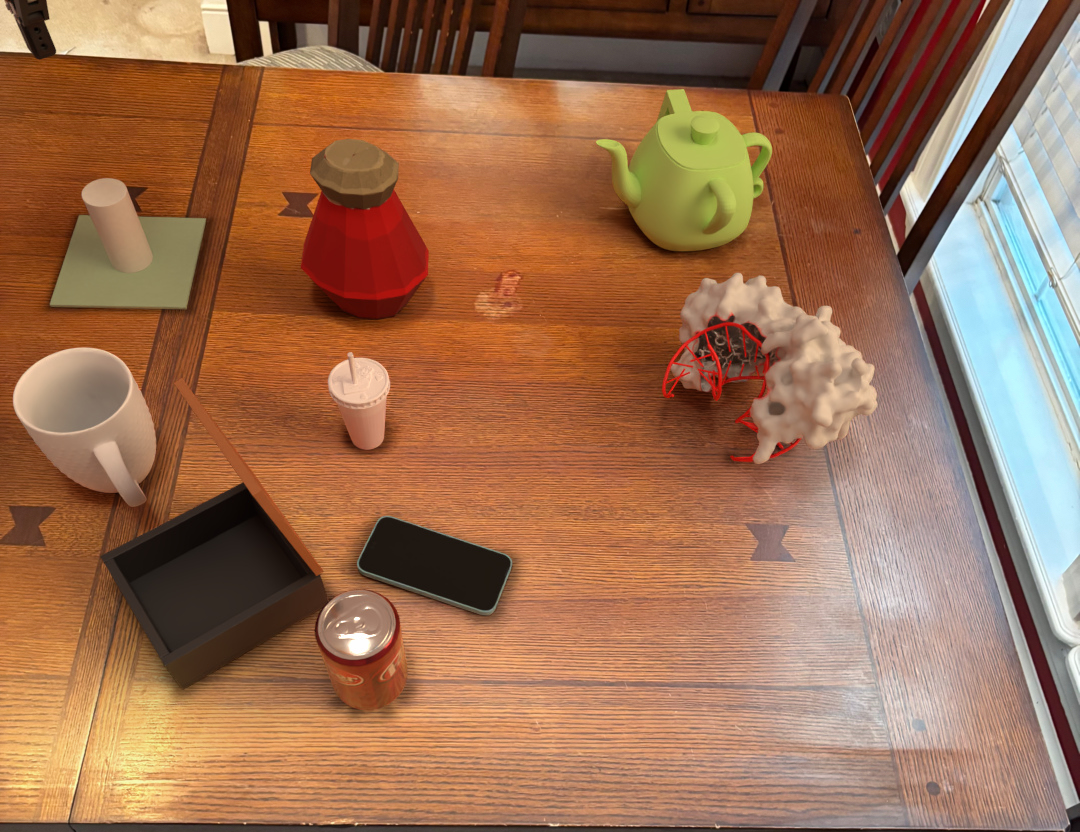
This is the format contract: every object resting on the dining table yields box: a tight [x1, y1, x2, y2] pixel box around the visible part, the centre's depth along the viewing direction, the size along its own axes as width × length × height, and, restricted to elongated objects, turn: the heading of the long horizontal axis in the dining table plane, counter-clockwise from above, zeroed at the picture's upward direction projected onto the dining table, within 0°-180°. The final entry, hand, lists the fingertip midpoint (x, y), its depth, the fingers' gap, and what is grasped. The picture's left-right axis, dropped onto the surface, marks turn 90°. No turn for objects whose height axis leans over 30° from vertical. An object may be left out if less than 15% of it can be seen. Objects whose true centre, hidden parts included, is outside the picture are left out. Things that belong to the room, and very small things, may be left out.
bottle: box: [300, 138, 430, 321], centre depth 104 cm, size 16×14×20 cm
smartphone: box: [356, 515, 513, 616], centre depth 93 cm, size 7×1×15 cm
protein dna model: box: [661, 272, 878, 465], centre depth 100 cm, size 20×18×25 cm
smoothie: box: [327, 351, 391, 451], centre depth 95 cm, size 6×6×14 cm
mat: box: [48, 214, 207, 311], centre depth 113 cm, size 16×16×1 cm
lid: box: [173, 377, 324, 576], centre depth 80 cm, size 17×14×1 cm
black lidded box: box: [100, 482, 329, 691], centre depth 88 cm, size 16×14×6 cm
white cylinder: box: [81, 177, 153, 273], centre depth 108 cm, size 5×5×10 cm
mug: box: [12, 347, 157, 508], centre depth 91 cm, size 15×11×13 cm
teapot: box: [595, 88, 773, 252], centre depth 117 cm, size 19×20×14 cm
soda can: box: [314, 588, 409, 711], centre depth 82 cm, size 7×7×12 cm
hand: (43, 52), depth 90 cm, fingers closed
